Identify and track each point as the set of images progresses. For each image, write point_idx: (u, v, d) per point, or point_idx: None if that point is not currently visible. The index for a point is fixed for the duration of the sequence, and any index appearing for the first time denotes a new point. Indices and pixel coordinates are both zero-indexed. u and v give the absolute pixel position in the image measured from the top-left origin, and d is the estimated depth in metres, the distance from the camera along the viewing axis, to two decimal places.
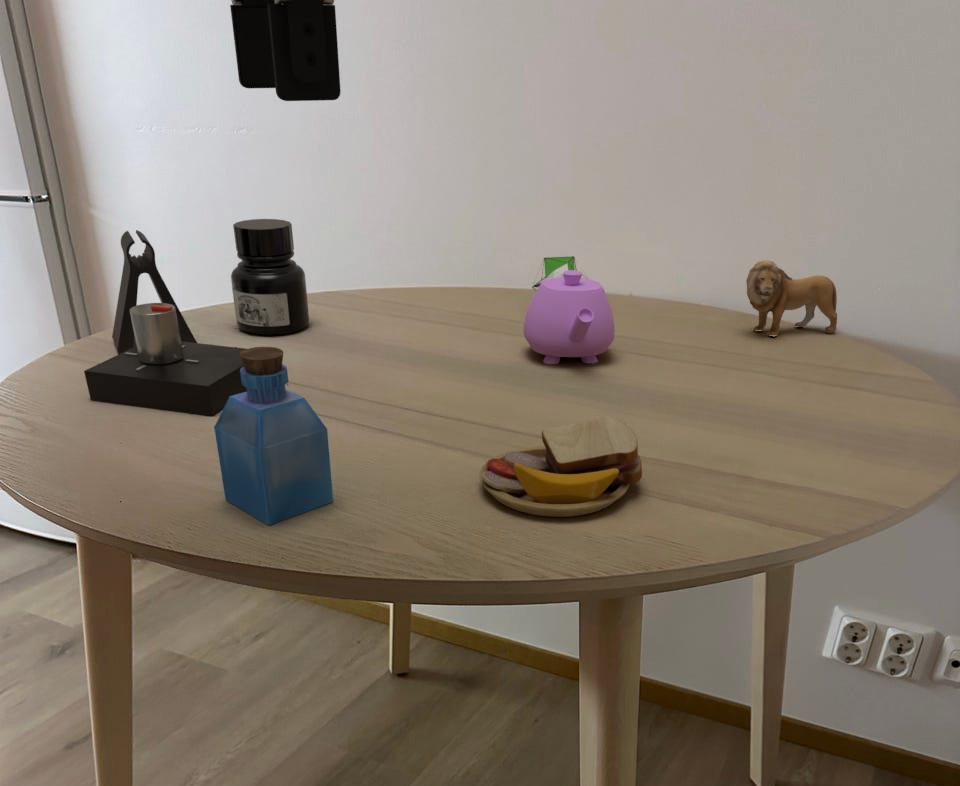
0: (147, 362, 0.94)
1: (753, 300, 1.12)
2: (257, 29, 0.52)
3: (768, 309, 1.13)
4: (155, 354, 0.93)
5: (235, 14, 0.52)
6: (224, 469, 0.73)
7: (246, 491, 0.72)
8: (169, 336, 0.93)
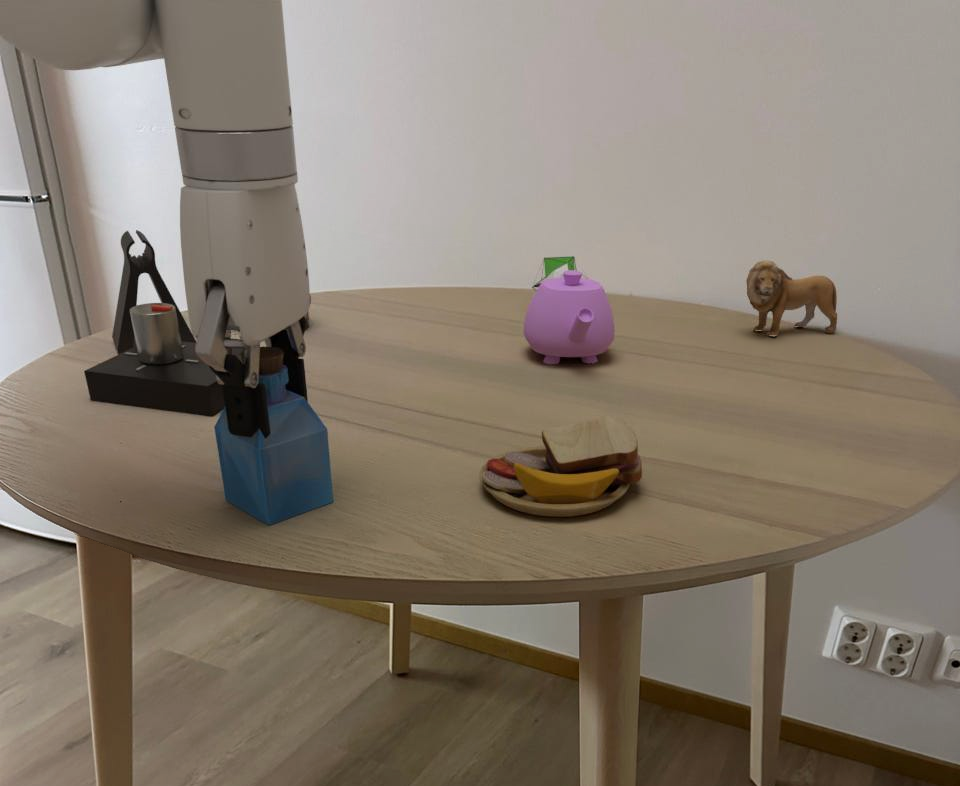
0: (147, 362, 0.94)
1: (753, 300, 1.12)
2: None
3: (768, 309, 1.13)
4: (155, 354, 0.93)
5: None
6: (224, 469, 0.73)
7: (246, 491, 0.72)
8: (169, 336, 0.93)
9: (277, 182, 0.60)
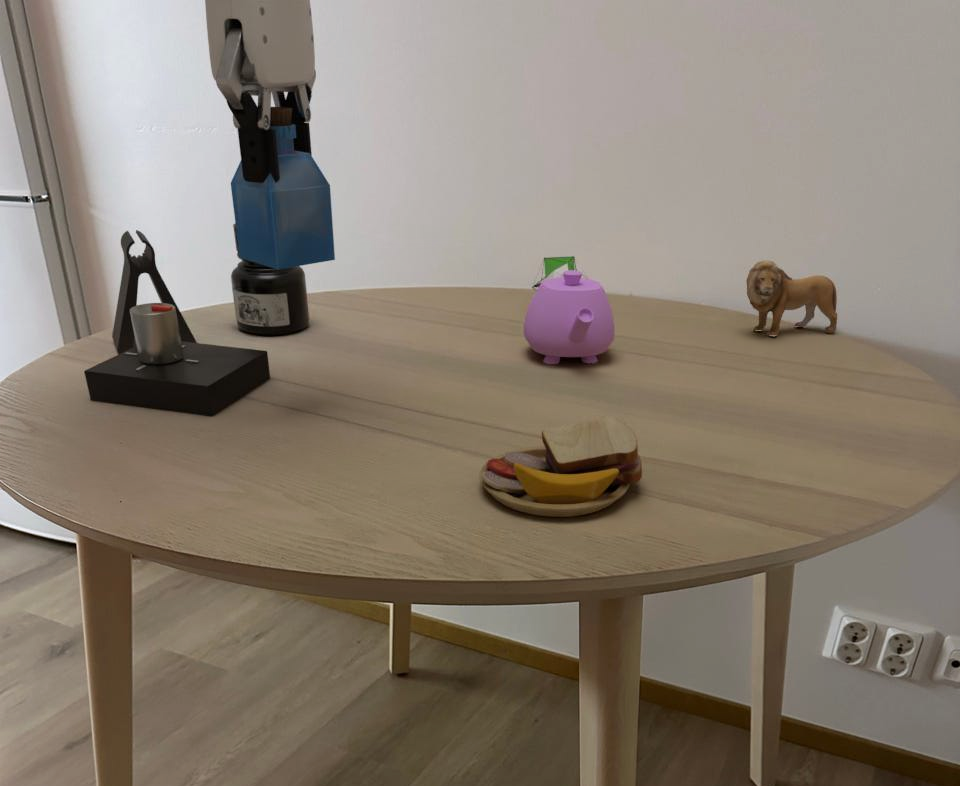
0: (147, 362, 0.94)
1: (753, 300, 1.12)
2: None
3: (768, 309, 1.13)
4: (155, 354, 0.93)
5: None
6: (239, 225, 0.83)
7: (258, 241, 0.81)
8: (169, 336, 0.93)
9: None
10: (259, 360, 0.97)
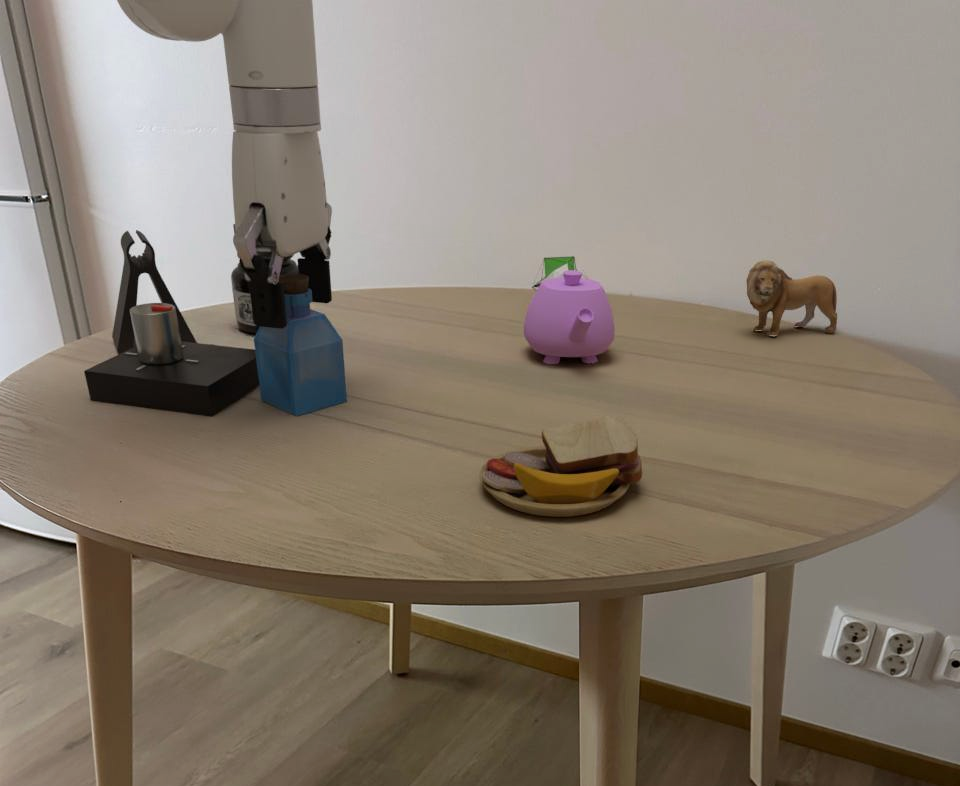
0: (147, 362, 0.94)
1: (753, 300, 1.12)
2: (308, 272, 0.91)
3: (768, 309, 1.13)
4: (155, 354, 0.93)
5: (298, 263, 0.91)
6: (261, 374, 0.92)
7: (278, 390, 0.91)
8: (169, 336, 0.93)
9: (306, 128, 0.79)
10: None
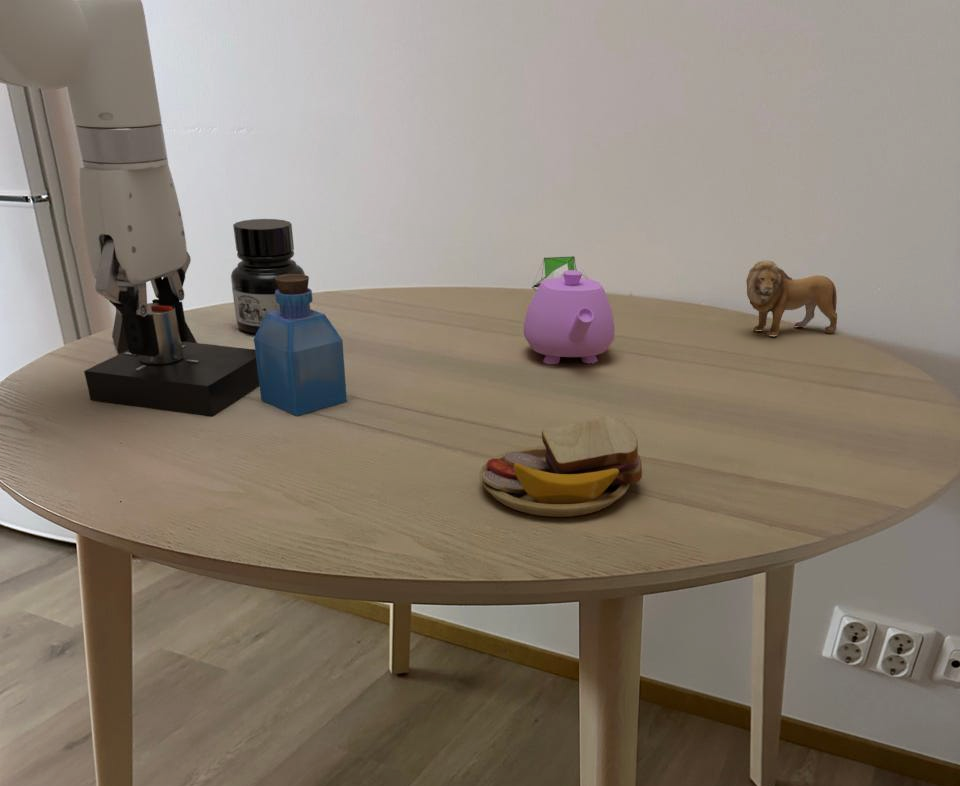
0: (147, 362, 0.94)
1: (753, 300, 1.12)
2: None
3: (768, 309, 1.13)
4: None
5: None
6: (261, 373, 0.92)
7: (278, 390, 0.91)
8: (169, 336, 0.93)
9: (149, 164, 0.83)
10: None
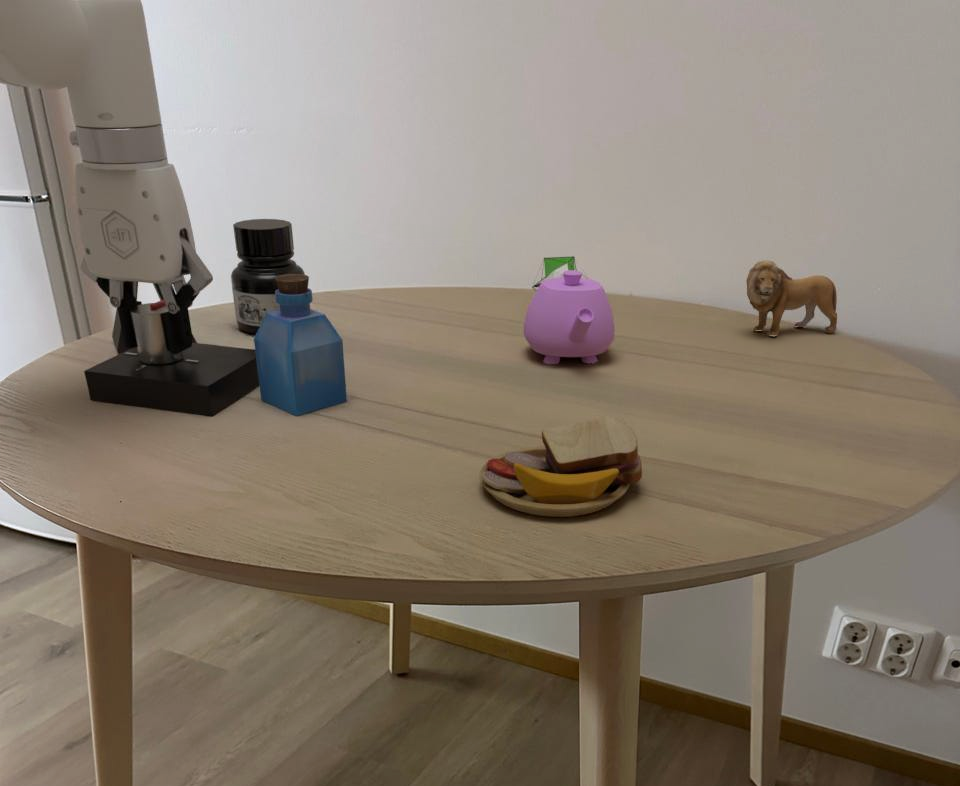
0: (178, 359, 0.95)
1: (753, 300, 1.12)
2: None
3: (768, 309, 1.13)
4: None
5: (124, 313, 0.92)
6: (261, 373, 0.92)
7: (278, 390, 0.91)
8: None
9: None
10: None
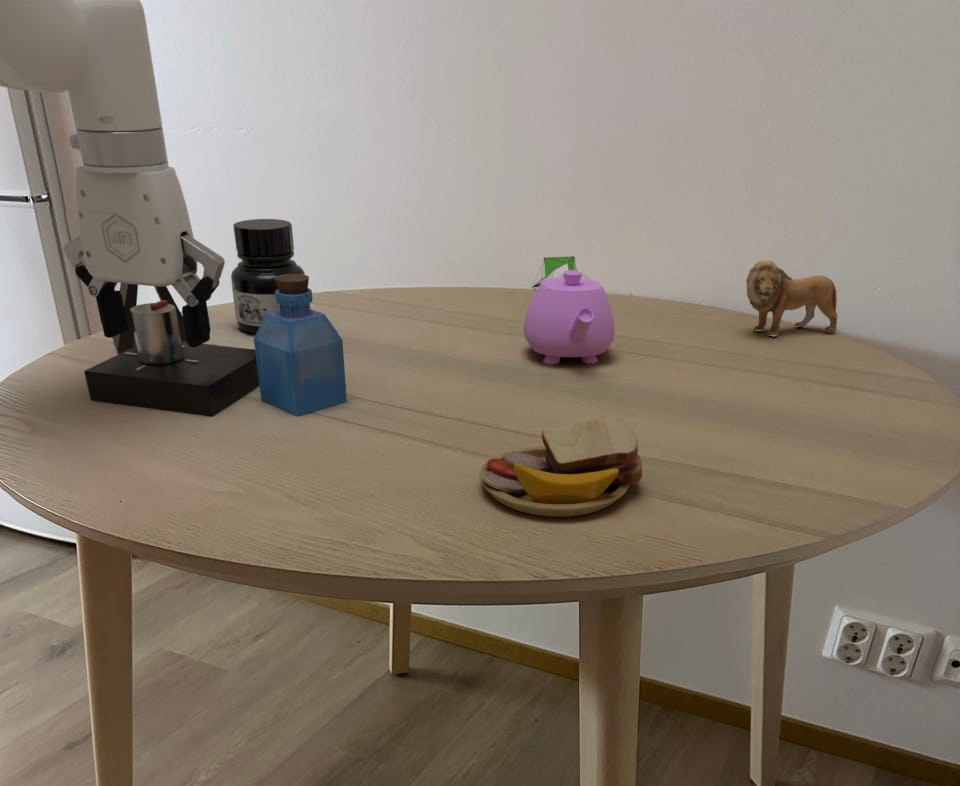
0: (178, 359, 0.95)
1: (753, 300, 1.12)
2: (112, 307, 0.94)
3: (768, 309, 1.13)
4: (181, 348, 0.95)
5: (102, 302, 0.92)
6: (261, 373, 0.92)
7: (278, 390, 0.91)
8: None
9: None
10: None
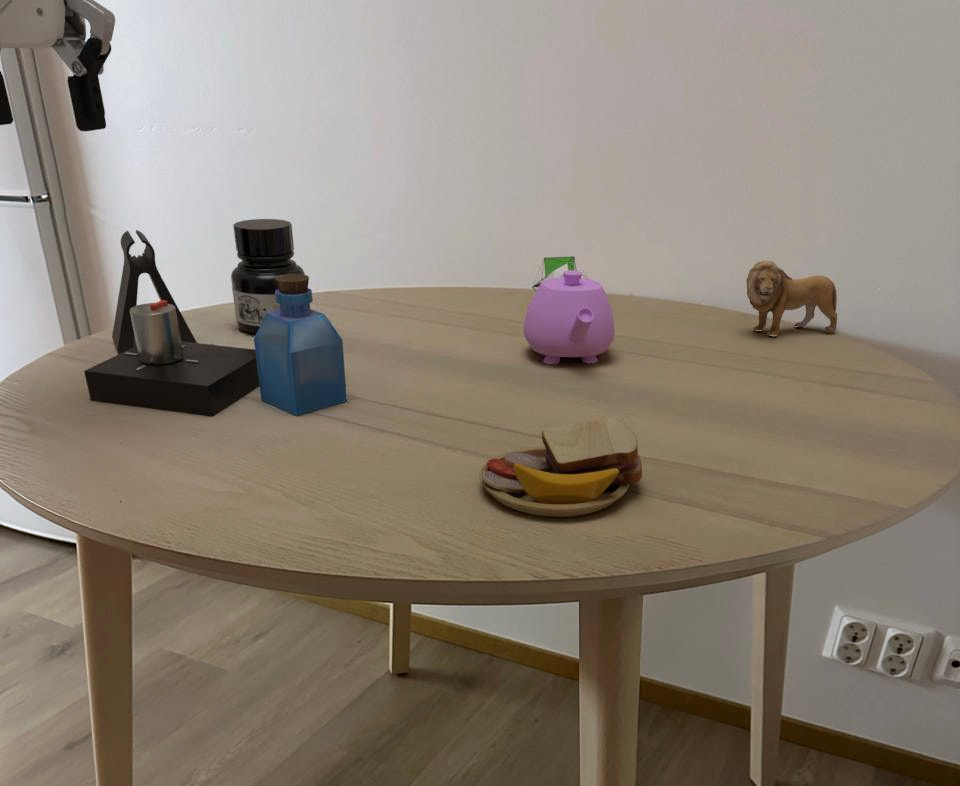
0: (178, 359, 0.95)
1: (753, 300, 1.12)
2: None
3: (768, 309, 1.13)
4: (181, 348, 0.95)
5: None
6: (261, 373, 0.92)
7: (278, 390, 0.91)
8: None
9: None
10: None
